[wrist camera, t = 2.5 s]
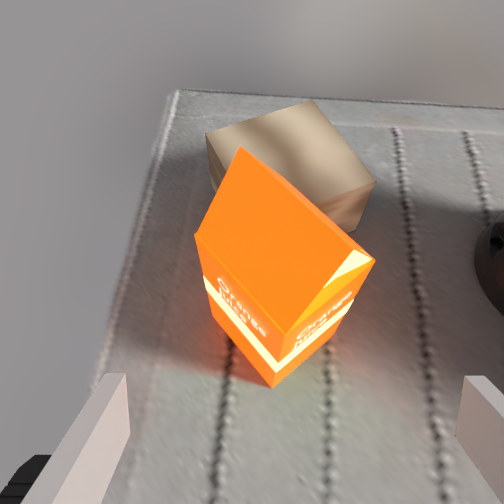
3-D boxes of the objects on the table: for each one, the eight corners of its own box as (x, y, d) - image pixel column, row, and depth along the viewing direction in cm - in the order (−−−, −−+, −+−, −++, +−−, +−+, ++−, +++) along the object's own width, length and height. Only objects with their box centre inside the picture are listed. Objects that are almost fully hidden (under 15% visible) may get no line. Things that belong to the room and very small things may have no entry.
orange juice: (271, 390, 34) (293, 299, 17) (210, 316, 38) (178, 177, 20) (334, 334, 37) (409, 207, 20) (272, 270, 40) (290, 111, 23)
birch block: (303, 154, 48) (312, 99, 41) (355, 229, 43) (376, 180, 36) (211, 185, 46) (205, 133, 39) (255, 269, 40) (256, 226, 33)
